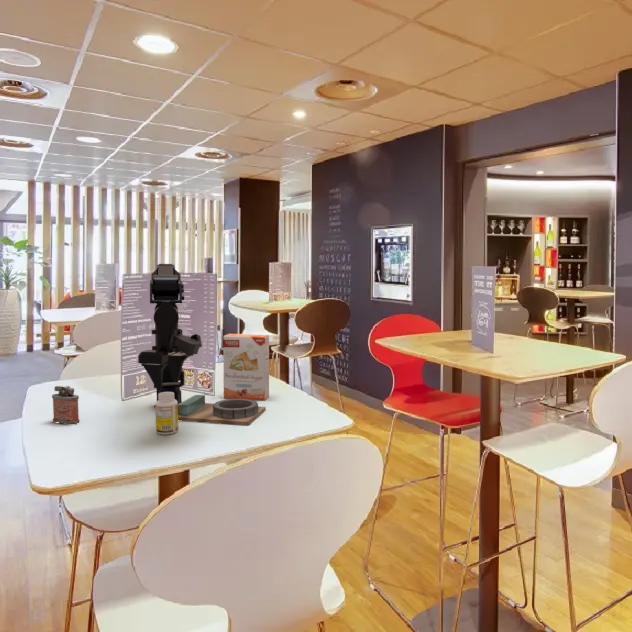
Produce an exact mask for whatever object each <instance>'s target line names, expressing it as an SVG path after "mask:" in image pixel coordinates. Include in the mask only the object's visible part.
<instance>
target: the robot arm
mask: <svg viewBox="0 0 632 632" xmlns="http://www.w3.org/2000/svg"><path fill="white" fill-rule="evenodd" d="M175 268H176V267H175V264H173V263H158V264H156V269H155V270H154V271H153V272H151V276H150V277H151V279H150V280H149V304H150V305H151V304H152V305H153V304H156V305H155V307H154V314H153V321H154V329H151V334H152V335H154V345H152V346H151V349H146V350H143V351H140V353H139V354H138V355H137V363H138V364H140V367H143V368H144V370H145V371H146V373H147V374H148V376H149V378H150V379H151V381H152V383H153V389H156V401H158V394H159V393H161V392H173V393H174V399H175V400H177V402H178V404H180V403H181V402H183V400H182V390H181V387H182V388H183V386H185V371H184V370H183V366H184V363H185V361H186V360H187V359H188V358H189V357H193V356H194V355H198V353H199V350H200V348H202V347H203V344H202V342H203V341H202V338H201V335H200V334H197V333H193V334H192V335H187V336H186V335H184V334H183V330H182V328H179V319H180V315H179V307H178V305H177V304H182V303H183V301H185V288H184V287H185V285H184V284H183V281H182V276H181V273H180V272H178V270H176V269H175ZM153 407H154V408H155V405H154V406H153Z"/></svg>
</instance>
